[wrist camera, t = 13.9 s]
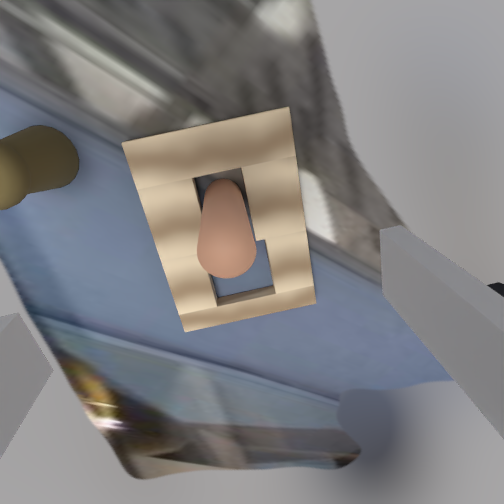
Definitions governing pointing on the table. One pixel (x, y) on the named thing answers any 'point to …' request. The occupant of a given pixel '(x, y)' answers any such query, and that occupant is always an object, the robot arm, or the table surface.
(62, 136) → the cork
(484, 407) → the robot arm
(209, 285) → the keyhole board
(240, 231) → the peg
